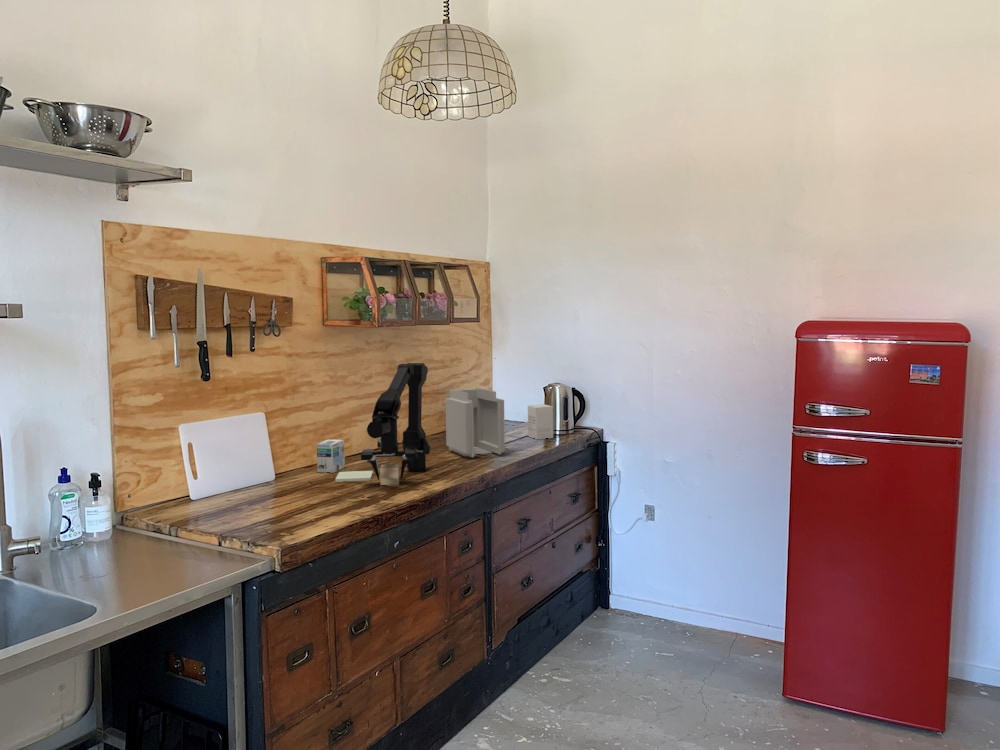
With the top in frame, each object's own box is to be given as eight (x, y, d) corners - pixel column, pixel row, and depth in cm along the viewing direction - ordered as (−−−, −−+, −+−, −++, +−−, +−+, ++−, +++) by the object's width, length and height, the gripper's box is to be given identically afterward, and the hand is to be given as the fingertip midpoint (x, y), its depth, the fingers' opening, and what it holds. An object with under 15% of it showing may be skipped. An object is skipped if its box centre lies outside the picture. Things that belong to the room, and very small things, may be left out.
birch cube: (399, 481, 254) (398, 464, 254) (398, 485, 248) (398, 467, 248) (381, 481, 254) (381, 464, 253) (380, 485, 248) (380, 468, 247)
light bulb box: (333, 473, 269) (332, 444, 268) (316, 472, 270) (315, 443, 269) (345, 467, 279) (344, 439, 278) (329, 466, 281) (328, 438, 280)
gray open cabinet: (478, 446, 320) (477, 386, 318) (506, 456, 297) (505, 392, 295) (442, 449, 313) (440, 389, 311) (467, 460, 289) (466, 394, 287)
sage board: (373, 473, 267) (372, 470, 267) (370, 480, 255) (370, 477, 255) (339, 474, 266) (339, 471, 266) (335, 481, 254) (335, 479, 254)
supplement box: (544, 435, 347) (544, 404, 346) (553, 438, 339) (553, 406, 337) (527, 437, 343) (527, 405, 342) (536, 439, 335) (535, 407, 334)
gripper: (416, 429, 259) (417, 473, 260) (363, 430, 257) (364, 474, 258) (416, 434, 248) (417, 479, 249) (360, 435, 246) (361, 481, 247)
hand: (389, 478), depth 251 cm, fingers open, 7 cm apart
